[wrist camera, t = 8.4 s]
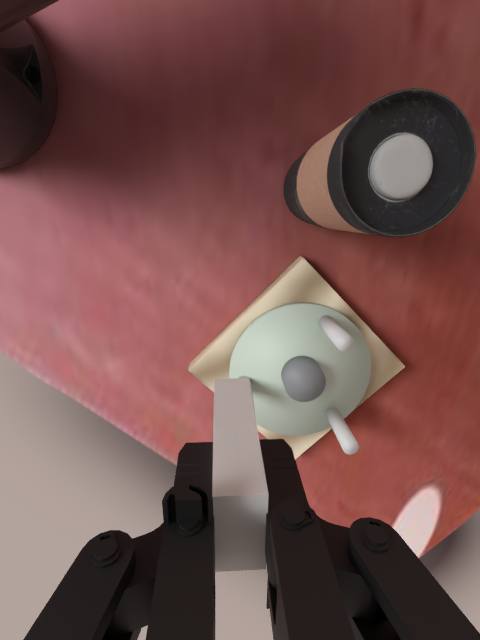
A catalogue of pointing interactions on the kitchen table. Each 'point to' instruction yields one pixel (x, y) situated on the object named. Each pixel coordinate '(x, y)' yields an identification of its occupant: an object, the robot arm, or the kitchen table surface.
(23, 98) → the robot arm
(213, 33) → the kitchen table surface
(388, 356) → the stand base
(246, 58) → the kitchen table surface
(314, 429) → the green peg holder
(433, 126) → the travel mug
